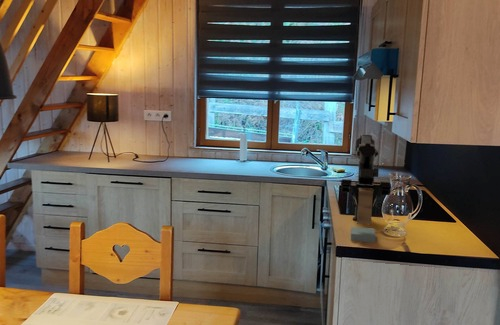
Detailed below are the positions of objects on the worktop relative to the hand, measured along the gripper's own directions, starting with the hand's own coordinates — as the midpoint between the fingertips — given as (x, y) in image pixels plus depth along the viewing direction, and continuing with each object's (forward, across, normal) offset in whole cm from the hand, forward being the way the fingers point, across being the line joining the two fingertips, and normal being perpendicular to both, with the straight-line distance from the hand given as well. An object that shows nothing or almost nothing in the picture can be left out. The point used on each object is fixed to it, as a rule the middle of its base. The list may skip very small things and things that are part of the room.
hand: (364, 205), depth 170 cm
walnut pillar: (+4, 0, +6) cm, 7 cm away
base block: (+9, 0, +10) cm, 13 cm away
